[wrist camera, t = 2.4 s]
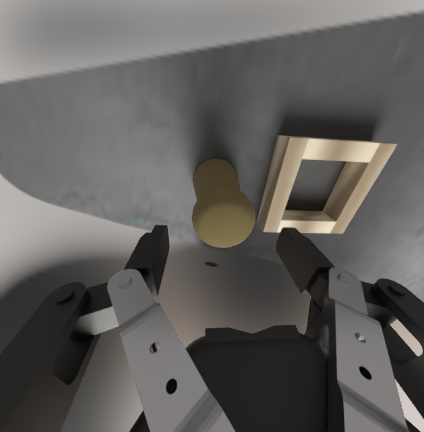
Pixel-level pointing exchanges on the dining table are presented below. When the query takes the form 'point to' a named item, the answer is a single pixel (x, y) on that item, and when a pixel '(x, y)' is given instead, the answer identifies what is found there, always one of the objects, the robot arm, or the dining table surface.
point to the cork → (221, 205)
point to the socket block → (342, 192)
